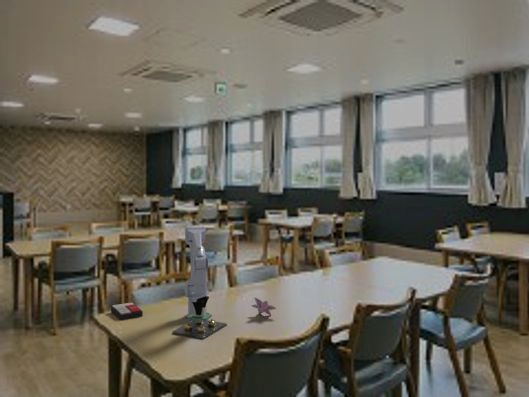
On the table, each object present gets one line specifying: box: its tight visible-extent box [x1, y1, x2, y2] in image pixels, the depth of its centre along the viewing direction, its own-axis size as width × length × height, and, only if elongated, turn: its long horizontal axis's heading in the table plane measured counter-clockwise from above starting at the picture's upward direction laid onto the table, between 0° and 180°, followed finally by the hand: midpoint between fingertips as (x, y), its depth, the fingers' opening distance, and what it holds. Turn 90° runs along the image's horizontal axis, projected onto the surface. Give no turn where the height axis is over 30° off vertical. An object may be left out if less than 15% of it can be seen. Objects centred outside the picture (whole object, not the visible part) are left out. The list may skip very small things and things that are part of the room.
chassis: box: [171, 318, 228, 340], centre depth 203 cm, size 20×16×4 cm
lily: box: [251, 297, 277, 319], centre depth 222 cm, size 12×12×10 cm
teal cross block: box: [187, 307, 213, 322], centre depth 203 cm, size 11×9×4 cm
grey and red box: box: [110, 302, 144, 321], centre depth 224 cm, size 11×4×15 cm
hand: (200, 313), depth 203 cm, fingers closed on teal cross block, 3 cm apart
